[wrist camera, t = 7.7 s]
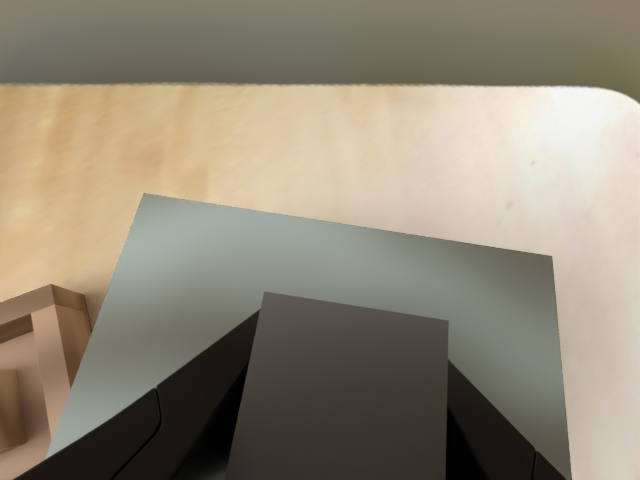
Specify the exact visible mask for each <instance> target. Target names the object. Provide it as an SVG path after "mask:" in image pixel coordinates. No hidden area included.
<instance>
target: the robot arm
mask: <svg viewBox="0 0 640 480" xmlns="http://www.w3.org/2000/svg"><path fill="white" fill-rule="evenodd" d="M260 309H261V308H260ZM260 309H259V310H257V311H256V312H255V313H253V314H252V315H251V316H249V317H248V318H247V319H245V320H244V321H243V322H241V323H240V324H239V325H237V326H236V327H235V328H233V329H232V330H230V331H229V332H228V333H226V334H225V335H224V336H222V337H221V338H220V339H218V340H217V341H216V342H214V343H213V344H212V345H210V346H209V347H208V348H206V349H205V350H204V351H202V352H201V353H199V354H198V355H197V356H195V357H194V358H193V359H191V360H190V361H189V362H187V363H186V364H185V365H183V366H182V367H181V368H179V369H178V370H177V371H175V372H174V373H172V374H171V375H170V376H168V377H167V378H166V379H164V380H163V381H162V382H160V383H159V384H158V385H157V386H156V388H152V389H151V390H149V391H148V392H147V393H145V394H144V395H143V396H141V397H140V398H138V399H137V400H136V401H134V402H133V403H131V404H130V405H129V406H127V407H126V408H124V409H123V410H122V411H120V412H119V413H117V414H116V415H114V416H113V417H112V418H110V419H109V420H107V421H105V422H104V423H102V424H101V425H99V426H98V427H96V428H95V429H93V430H92V431H90V432H88V433H87V434H85V435H84V436H82V437H81V438H79V439H78V440H76V441H74V442H73V443H71V444H69V445H68V446H66V447H65V448H63V449H61V450H60V451H58V452H57V453H55V454H53V455H52V456H50V457H48V458H47V459H45V460H44V461H42V462H40V463H39V464H37V465H36V466H34V467H32V468H31V469H29V470H27V471H26V472H24V473H23V474H21V475H19V476H18V477H16V478H14V479H13V480H225V475H226V471H227V466H228V461H229V456H230V452H231V447H232V442H233V437H234V432H235V428H236V423H237V418H238V413H239V409H240V404H241V399H242V394H243V390H244V385H245V380H246V375H247V371H248V366H249V361H250V356H251V352H252V347H253V342H254V337H255V333H256V328H257V323H258V318H259V314H260ZM446 480H567V479H566V478H565V477H564V476H563V475H562V474H561V473H560V472H559V471H558V470H557V469H556V468H555V467H554V466H553V465H552V464H551V463H550V462H549V461H548V460H547V459H546V458H545V457H544V456H543V455H542V454H541V453H540V452H539V451H535V447H534V446H533V445H532V444H531V443H530V441H529V440H528V439H527V438H526V437H525V436H524V435H523V434H522V433H521V432H520V431H519V430H518V429H517V428H516V427H515V426H514V425H513V424H512V423H511V422H510V421H509V420H508V419H507V418H506V417H505V416H504V415H503V414H502V413H501V412H500V411H499V410H498V409H497V408H496V407H495V406H494V405H493V404H492V403H491V402H490V401H489V400H488V399H487V398H486V397H485V396H484V395H483V394H482V393H481V392H480V391H479V390H478V389H477V388H476V387H475V386H474V385H473V384H472V383H471V381H470V380H469V379H468V378H467V377H466V376H465V375H464V374H463V373H462V372H461V371H460V370H459V369H458V368H457V367H456V366H455V365H454V364H453V363H452V362H451V361H450V360H449V359H448V380H447V430H446Z"/></svg>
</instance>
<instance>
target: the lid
mask: <svg viewBox="0 0 640 480" xmlns="http://www.w3.org/2000/svg"><path fill="white" fill-rule="evenodd" d="M260 308H261V309H260ZM259 309H260V314H259V318H258V323H257V328H256V333H255V337H254V342H253V347H252V352H251V356H250V361H249V366H248V371H247V375H246V380H245V385H244V390H243V394H242V399H241V404H240V409H239V413H238V418H237V423H236V428H235V432H234V437H233V442H232V447H231V452H230V456H229V461H228V466H227V471H226V475H225V480H446V430H447V380H448V359H449V360H450V361H451V362H452V363H453V364H454V365H455V366H456V367H457V368H458V369H459V370H460V371H461V372H462V373H463V374H464V375H465V376H466V377H467V378H468V379H469V380H470V381H471V383H472V384H473V385H474V386H475V387H476V388H477V389H478V390H479V391H480V392H481V393H482V394H483V395H484V396H485V397H486V398H487V399H488V400H489V401H490V402H491V403H492V404H493V405H494V406H495V407H496V408H497V409H498V410H499V411H500V412H501V413H502V414H503V415H504V416H505V417H506V418H507V419H508V420H509V421H510V422H511V423H512V424H513V425H514V426H515V427H516V428H517V429H518V430H519V431H520V432H521V433H522V434H523V435H524V436H525V437H526V438H527V439H528V440H529V441H530V443H531V444H532V445H533V446H534V447H535V451H539V452H540V453H541V454H542V455H543V456H544V457H545V458H546V459H547V460H548V461H549V462H550V463H551V464H552V465H553V466H554V467H555V468H556V469H557V470H558V471H559V472H560V473H561V474H562V475H563V476H564V477H565V478H566V479H567V480H572V476H571V464H570V453H569V442H568V431H567V419H566V408H565V397H564V386H563V374H562V363H561V352H560V340H559V329H558V318H557V307H556V295H555V284H554V273H553V262H552V256H547V255H541V254H534V253H528V252H521V251H515V250H508V249H502V248H495V247H489V246H482V245H476V244H470V243H463V242H457V241H450V240H444V239H437V238H431V237H424V236H418V235H411V234H405V233H398V232H392V231H385V230H379V229H372V228H366V227H360V226H353V225H347V224H340V223H334V222H327V221H321V220H314V219H308V218H301V217H295V216H288V215H282V214H275V213H269V212H262V211H256V210H249V209H243V208H237V207H230V206H224V205H217V204H211V203H204V202H198V201H191V200H185V199H178V198H172V197H165V196H159V195H152V194H146V193H144V194H143V196H142V199H141V202H140V204H139V207H138V210H137V213H136V215H135V218H134V221H133V223H132V226H131V229H130V231H129V234H128V237H127V239H126V242H125V245H124V248H123V250H122V253H121V256H120V258H119V261H118V264H117V266H116V269H115V272H114V274H113V277H112V280H111V282H110V285H109V288H108V291H107V293H106V296H105V299H104V301H103V304H102V307H101V309H100V312H99V315H98V317H97V320H96V323H95V326H94V328H93V331H92V334H91V336H90V339H89V342H88V344H87V347H86V350H85V352H84V355H83V358H82V361H81V363H80V366H79V369H78V371H77V374H76V377H75V379H74V382H73V385H72V387H71V390H70V393H69V396H68V398H67V401H66V404H65V406H64V409H63V412H62V414H61V417H60V420H59V422H58V425H57V428H56V431H55V433H54V436H53V439H52V441H51V444H50V447H49V449H48V452H47V455H46V457H45V459H47V458H48V457H50V456H52V455H53V454H55V453H57V452H58V451H60V450H61V449H63V448H65V447H66V446H68V445H69V444H71V443H73V442H74V441H76V440H78V439H79V438H81V437H82V436H84V435H85V434H87V433H88V432H90V431H92V430H93V429H95V428H96V427H98V426H99V425H101V424H102V423H104V422H105V421H107V420H109V419H110V418H112V417H113V416H114V415H116V414H117V413H119V412H120V411H122V410H123V409H124V408H126V407H127V406H129V405H130V404H131V403H133V402H134V401H136V400H137V399H138V398H140V397H141V396H143V395H144V394H145V393H147V392H148V391H149V390H151V389H152V388H156V386H157V385H158V384H159V383H160V382H162V381H163V380H164V379H166V378H167V377H168V376H170V375H171V374H172V373H174V372H175V371H177V370H178V369H179V368H181V367H182V366H183V365H185V364H186V363H187V362H189V361H190V360H191V359H193V358H194V357H195V356H197V355H198V354H199V353H201V352H202V351H204V350H205V349H206V348H208V347H209V346H210V345H212V344H213V343H214V342H216V341H217V340H218V339H220V338H221V337H222V336H224V335H225V334H226V333H228V332H229V331H230V330H232V329H233V328H235V327H236V326H237V325H239V324H240V323H241V322H243V321H244V320H245V319H247V318H248V317H249V316H251V315H252V314H253V313H255V312H256V311H257V310H259Z"/></svg>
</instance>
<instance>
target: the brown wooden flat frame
mask: <svg viewBox="0 0 640 480" xmlns="http://www.w3.org/2000/svg"><path fill="white" fill-rule="evenodd" d="M91 334H92V331H91V326H90V322H89V317H88V312H87V308H86V303H85V299H84V295H82V294H79V293H76V292H73V291H70V290H67V289H64V288H61V287H58V286H55V285H52V284H49V285H47V286H44V287H41V288H39V289H36V290H33V291H31V292H28V293H25V294H23V295H20V296H17V297H14V298H12V299H9V300H6V301H4V302H1V303H0V480H13V479H14V478H16V477H18V476H19V475H21V474H23V473H24V472H26V471H27V470H29V469H31V468H32V467H34V466H36V465H37V464H39V463H40V462H42V461H44V460H45V457H46V455H47V452H48V449H49V447H50V444H51V441H52V439H53V436H54V433H55V431H56V428H57V425H58V422H59V420H60V417H61V414H62V412H63V409H64V406H65V404H66V401H67V398H68V396H69V393H70V390H71V387H72V385H73V382H74V379H75V377H76V374H77V371H78V369H79V366H80V363H81V361H82V358H83V355H84V352H85V350H86V347H87V344H88V342H89V339H90V336H91Z"/></svg>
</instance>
